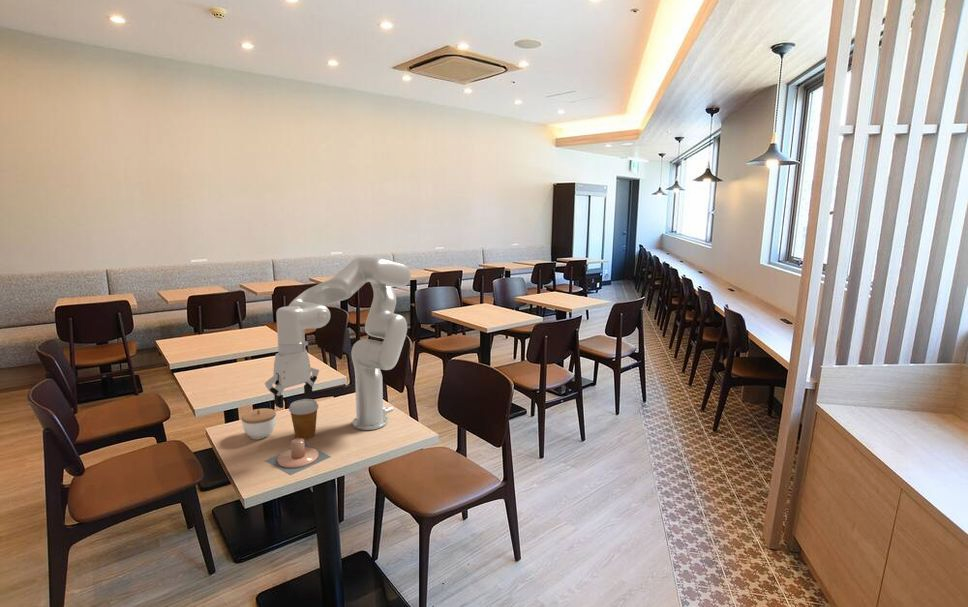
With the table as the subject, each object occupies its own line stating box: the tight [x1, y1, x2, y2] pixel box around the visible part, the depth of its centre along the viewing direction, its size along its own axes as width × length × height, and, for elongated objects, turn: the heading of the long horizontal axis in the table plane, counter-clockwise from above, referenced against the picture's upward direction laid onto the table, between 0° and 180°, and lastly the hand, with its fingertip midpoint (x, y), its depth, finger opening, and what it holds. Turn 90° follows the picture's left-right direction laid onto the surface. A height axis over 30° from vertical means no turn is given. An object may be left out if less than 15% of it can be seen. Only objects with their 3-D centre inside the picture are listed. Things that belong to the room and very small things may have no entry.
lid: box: [277, 438, 319, 468], centre depth 152 cm, size 12×12×6 cm
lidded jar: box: [241, 408, 277, 440], centre depth 168 cm, size 11×11×9 cm
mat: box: [264, 443, 331, 476], centre depth 152 cm, size 14×14×1 cm
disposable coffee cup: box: [288, 398, 319, 440], centre depth 168 cm, size 10×10×12 cm
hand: (294, 402), depth 149 cm, fingers open, 9 cm apart
